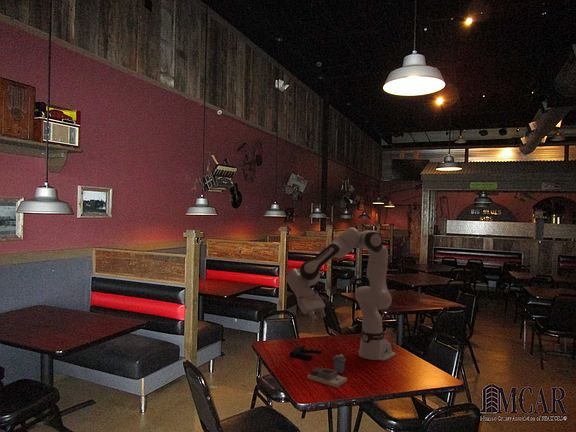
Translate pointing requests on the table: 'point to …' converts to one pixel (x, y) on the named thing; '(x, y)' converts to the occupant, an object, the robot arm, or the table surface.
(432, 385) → the table surface
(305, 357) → the gun
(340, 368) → the block
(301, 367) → the table surface
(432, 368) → the table surface
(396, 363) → the table surface
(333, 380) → the chassis
